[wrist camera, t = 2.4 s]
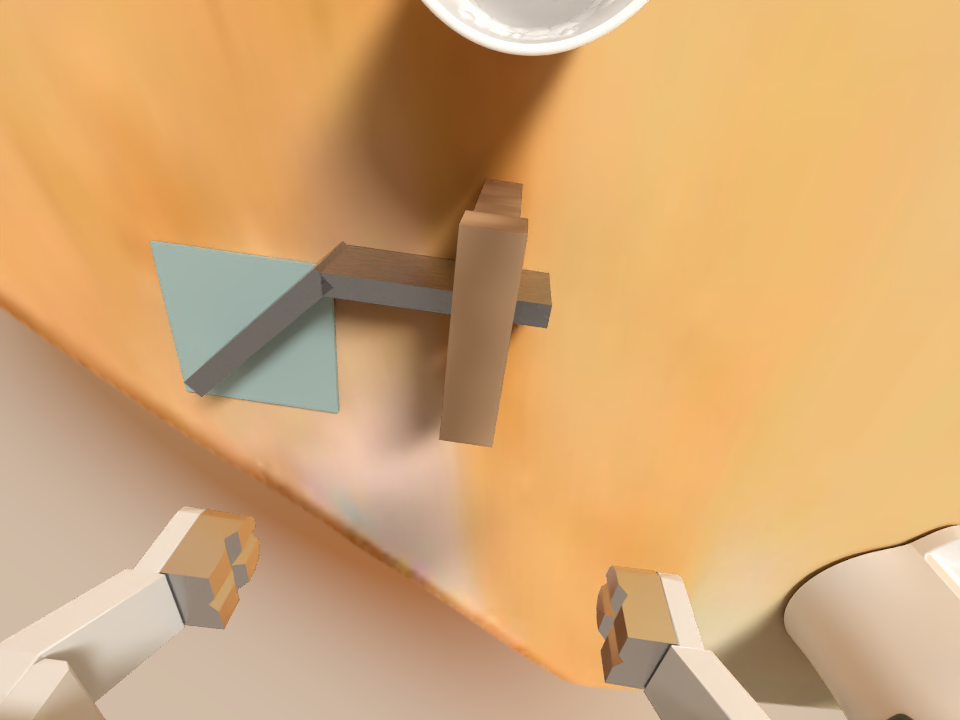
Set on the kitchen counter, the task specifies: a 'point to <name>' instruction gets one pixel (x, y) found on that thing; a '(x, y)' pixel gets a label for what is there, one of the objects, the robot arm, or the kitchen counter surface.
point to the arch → (482, 312)
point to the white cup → (533, 22)
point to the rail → (364, 299)
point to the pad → (233, 305)
